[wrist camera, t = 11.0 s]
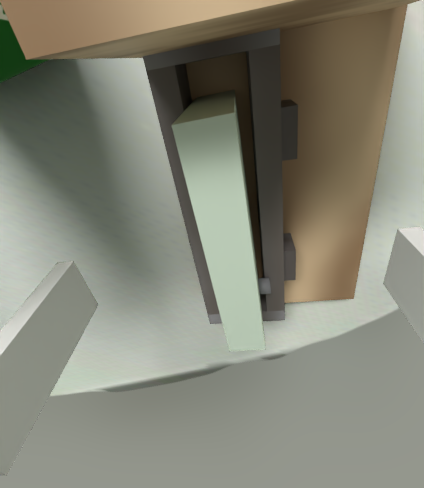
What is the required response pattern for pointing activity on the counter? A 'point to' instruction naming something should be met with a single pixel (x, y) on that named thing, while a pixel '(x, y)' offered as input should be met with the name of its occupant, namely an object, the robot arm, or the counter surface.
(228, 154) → the pale green rectangular block
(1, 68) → the milk carton
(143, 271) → the counter surface
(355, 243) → the wooden stand with tray
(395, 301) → the robot arm
